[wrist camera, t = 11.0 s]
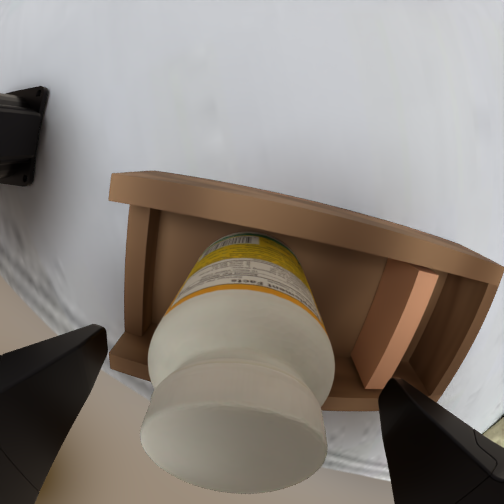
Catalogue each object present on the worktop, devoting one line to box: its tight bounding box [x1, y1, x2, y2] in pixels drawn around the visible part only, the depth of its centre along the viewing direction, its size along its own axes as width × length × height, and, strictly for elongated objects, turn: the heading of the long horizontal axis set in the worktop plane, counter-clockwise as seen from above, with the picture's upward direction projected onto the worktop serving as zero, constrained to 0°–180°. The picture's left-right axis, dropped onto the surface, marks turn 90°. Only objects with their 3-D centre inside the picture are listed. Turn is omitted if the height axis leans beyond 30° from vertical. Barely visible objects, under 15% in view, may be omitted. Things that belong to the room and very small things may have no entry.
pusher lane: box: [109, 171, 504, 411], centre depth 13 cm, size 18×9×4 cm, turn 78°
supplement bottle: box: [140, 232, 335, 494], centre depth 9 cm, size 5×5×10 cm
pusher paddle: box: [350, 258, 439, 389], centre depth 12 cm, size 1×6×3 cm, turn 168°
